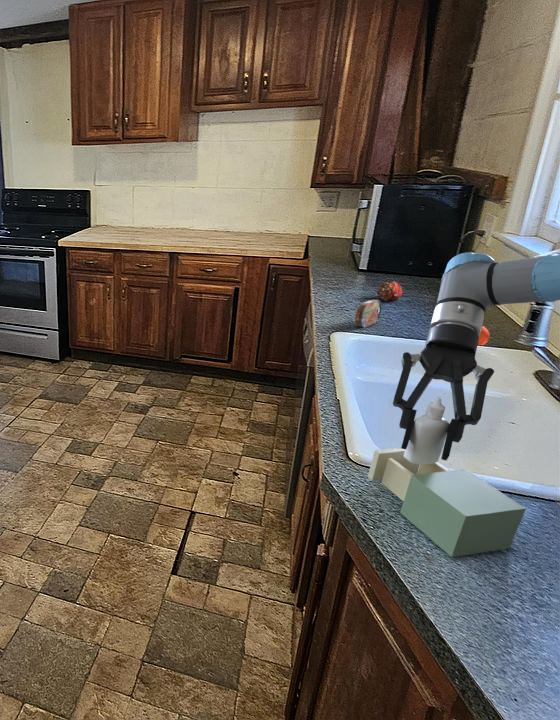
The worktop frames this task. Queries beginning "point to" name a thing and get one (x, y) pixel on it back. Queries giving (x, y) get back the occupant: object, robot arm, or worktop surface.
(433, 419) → the eye dropper bottle
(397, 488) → the drawer
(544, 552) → the worktop surface
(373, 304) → the sandwich
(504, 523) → the cabinet
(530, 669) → the worktop surface
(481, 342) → the red tomato
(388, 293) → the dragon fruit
